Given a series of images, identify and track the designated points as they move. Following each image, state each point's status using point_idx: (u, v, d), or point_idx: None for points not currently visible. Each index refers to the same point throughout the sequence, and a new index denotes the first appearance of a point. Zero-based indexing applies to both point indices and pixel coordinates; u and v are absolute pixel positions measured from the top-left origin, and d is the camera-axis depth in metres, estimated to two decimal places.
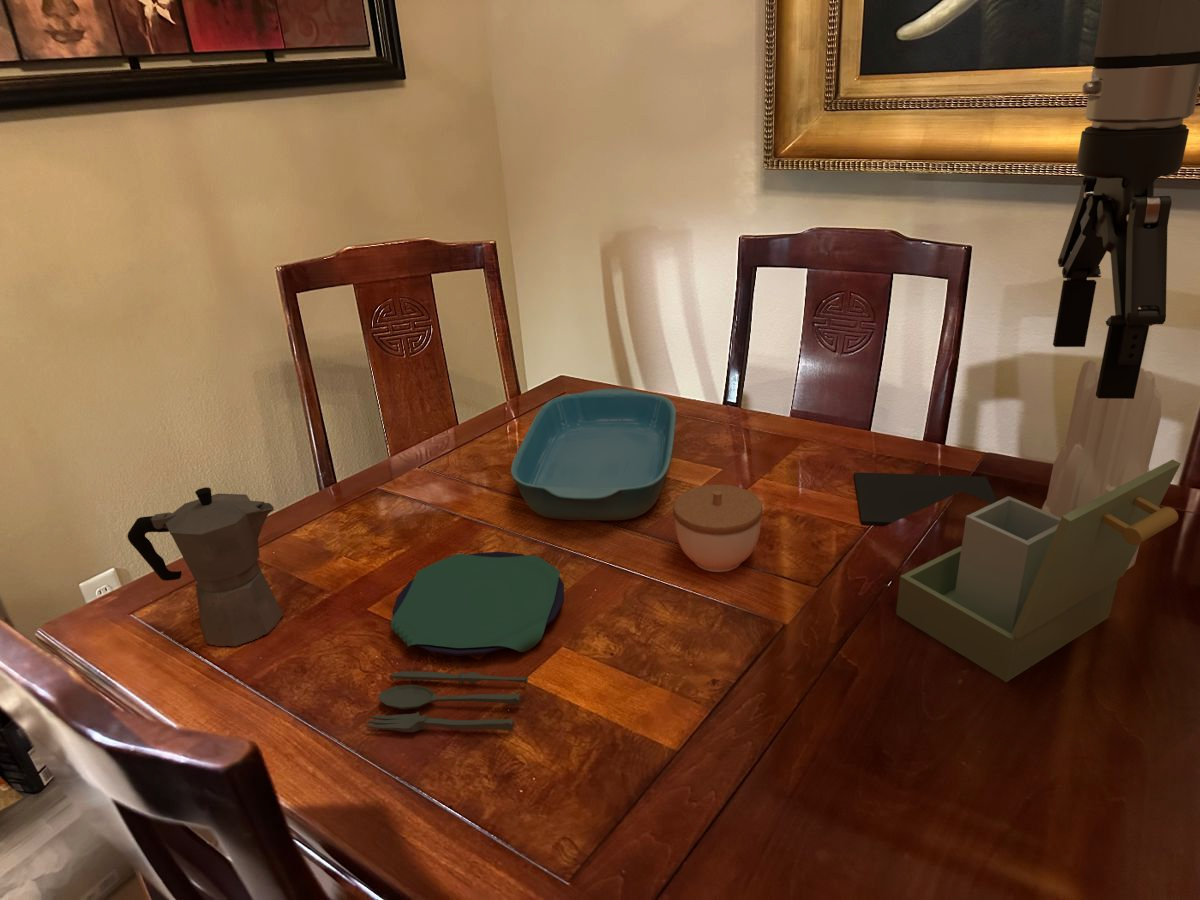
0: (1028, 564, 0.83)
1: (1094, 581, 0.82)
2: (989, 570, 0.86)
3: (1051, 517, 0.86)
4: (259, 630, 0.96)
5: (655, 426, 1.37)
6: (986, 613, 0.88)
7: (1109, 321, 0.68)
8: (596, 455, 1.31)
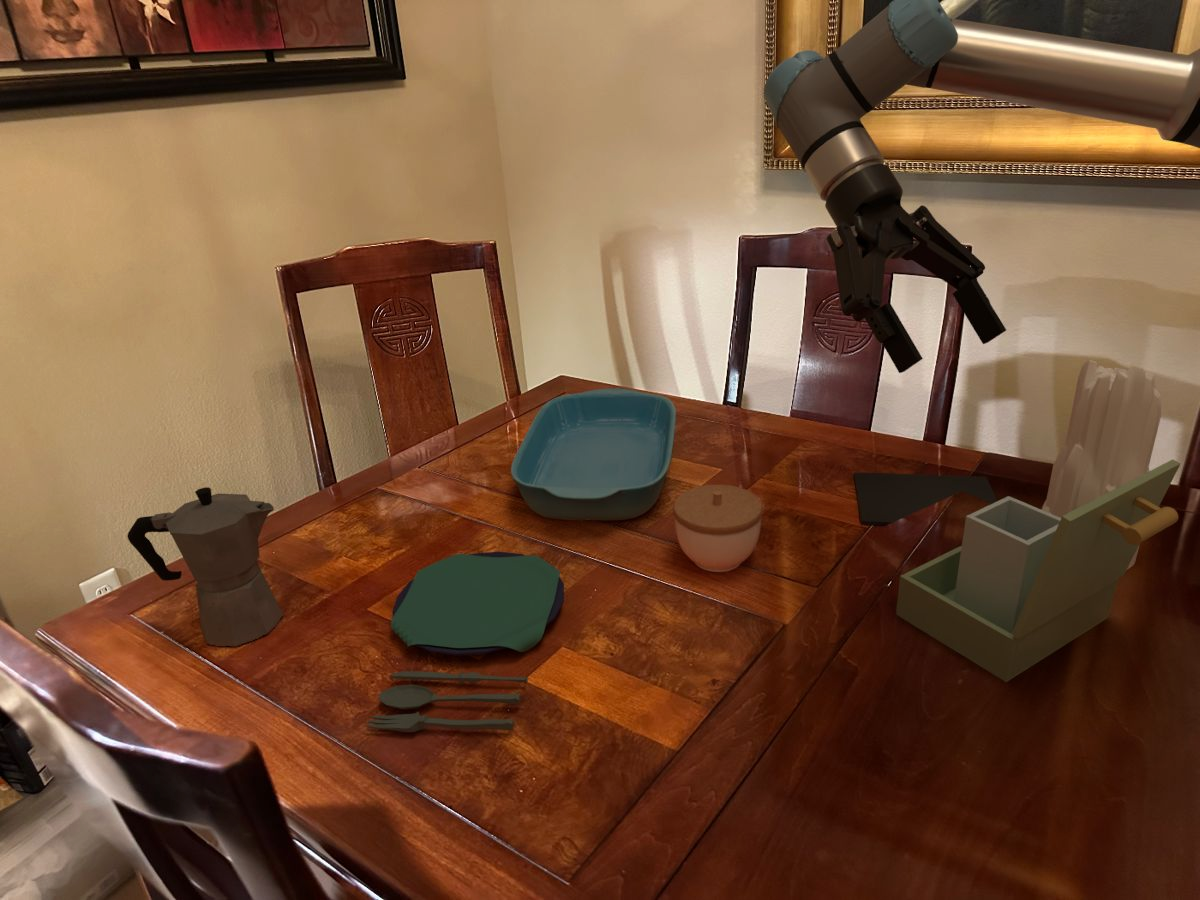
0: (1028, 564, 0.83)
1: (1094, 581, 0.82)
2: (989, 570, 0.86)
3: (1051, 517, 0.86)
4: (259, 630, 0.96)
5: (655, 426, 1.37)
6: (986, 613, 0.88)
7: None
8: (596, 455, 1.31)
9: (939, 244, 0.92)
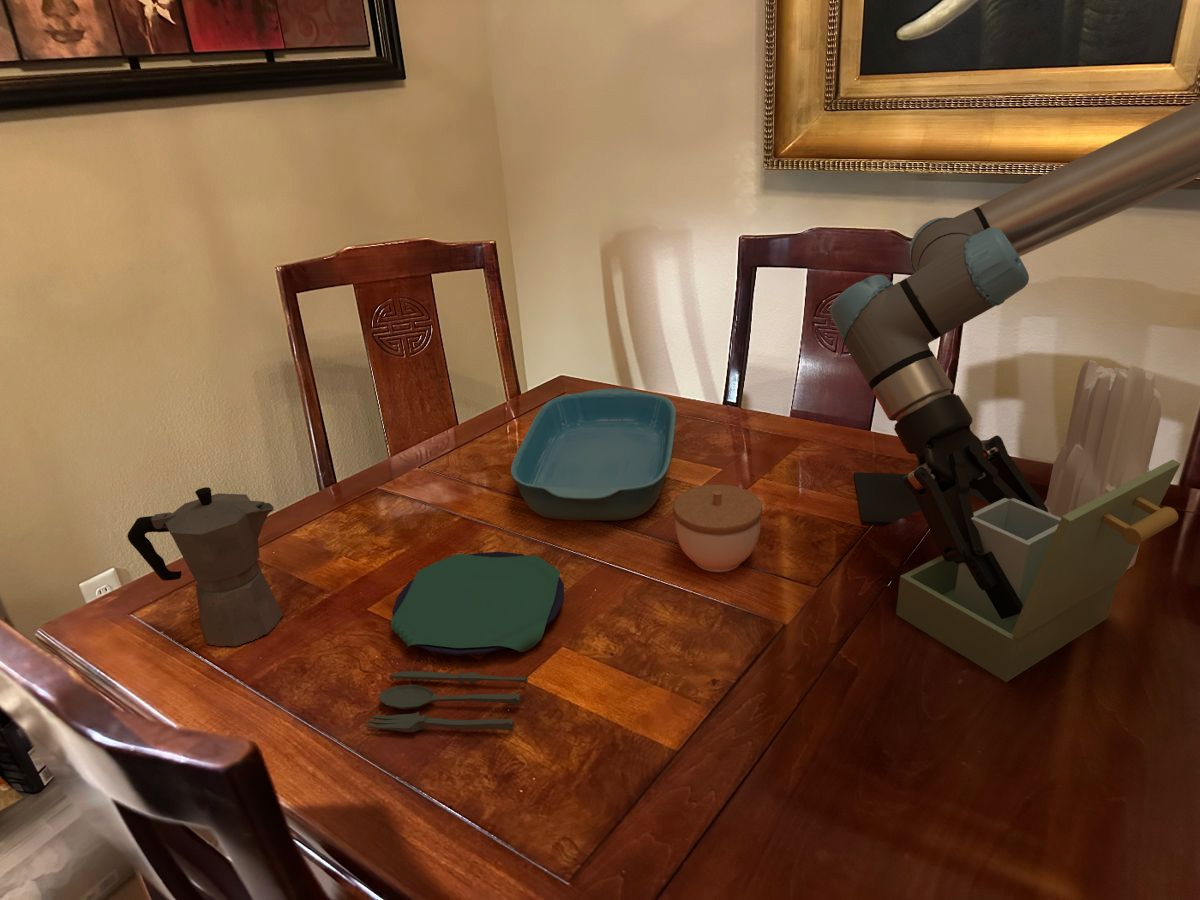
0: (1027, 564, 0.83)
1: (1094, 581, 0.82)
2: None
3: (1051, 517, 0.86)
4: (259, 630, 0.96)
5: (655, 426, 1.37)
6: (986, 613, 0.88)
7: (957, 561, 0.87)
8: (596, 455, 1.31)
9: (1006, 477, 0.92)
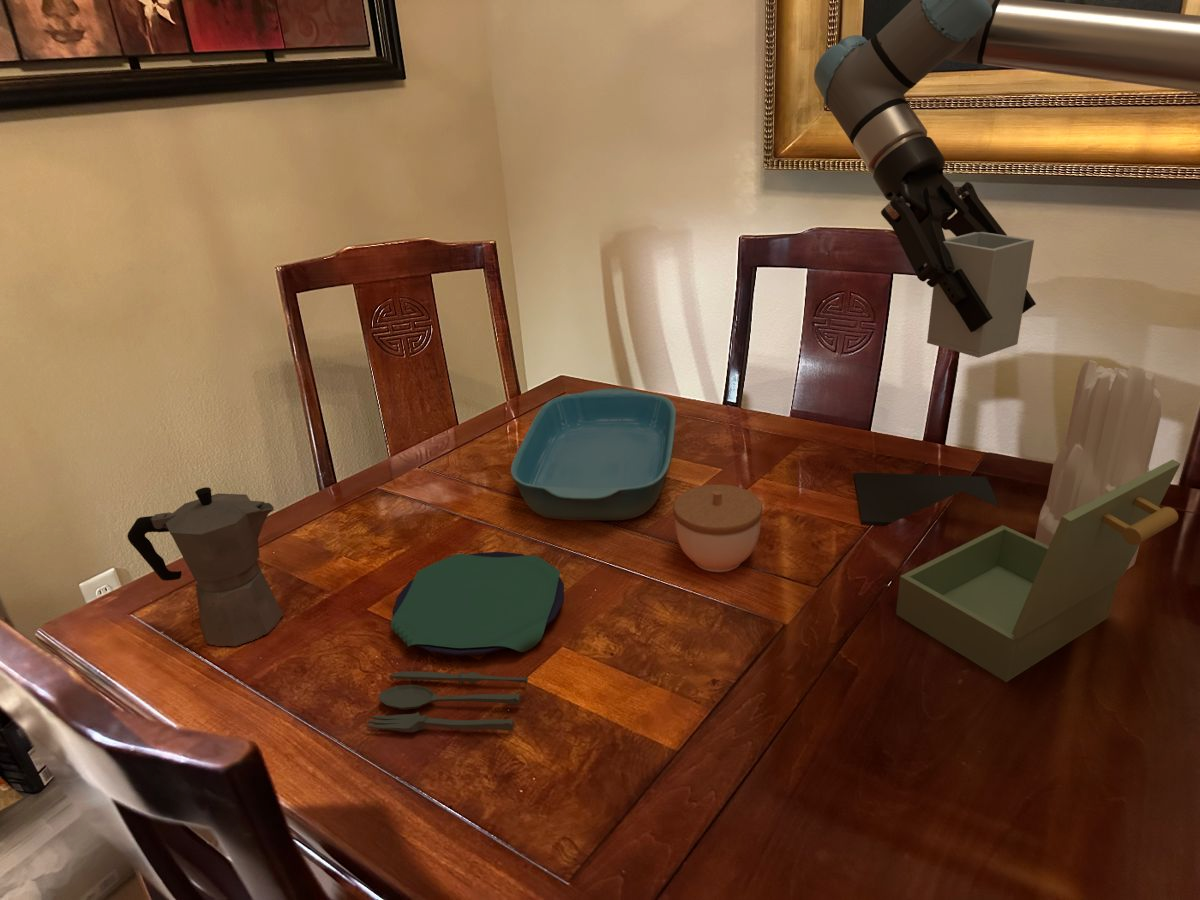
0: (994, 272, 0.90)
1: (1094, 581, 0.82)
2: None
3: (1016, 238, 0.93)
4: (259, 630, 0.96)
5: (655, 426, 1.37)
6: (957, 334, 0.95)
7: None
8: (596, 455, 1.31)
9: (976, 219, 0.99)
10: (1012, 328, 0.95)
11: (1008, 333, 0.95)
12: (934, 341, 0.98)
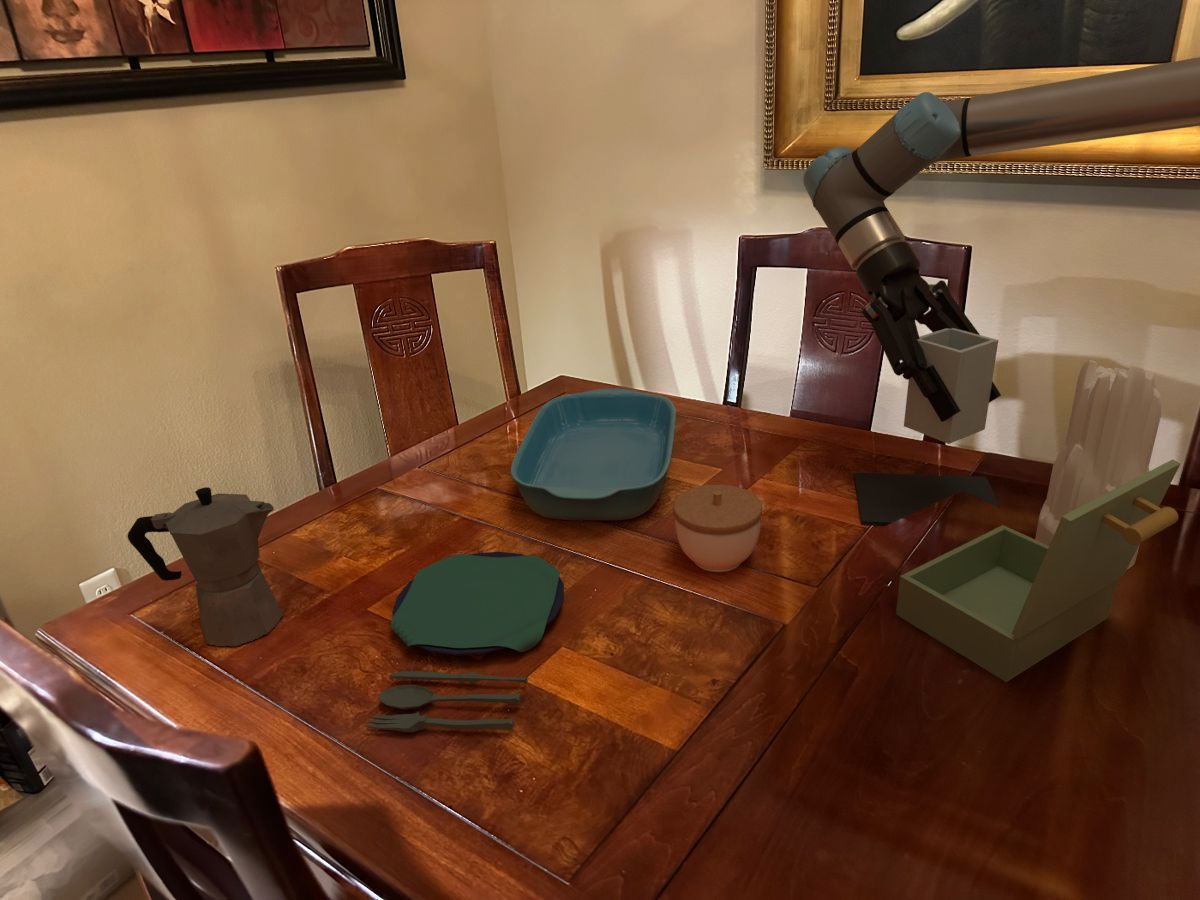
0: (961, 371, 1.01)
1: (1094, 581, 0.82)
2: None
3: (982, 337, 1.04)
4: (259, 630, 0.96)
5: (655, 426, 1.37)
6: (930, 421, 1.06)
7: None
8: (596, 455, 1.31)
9: (949, 314, 1.10)
10: (980, 416, 1.06)
11: (975, 420, 1.06)
12: (910, 425, 1.09)
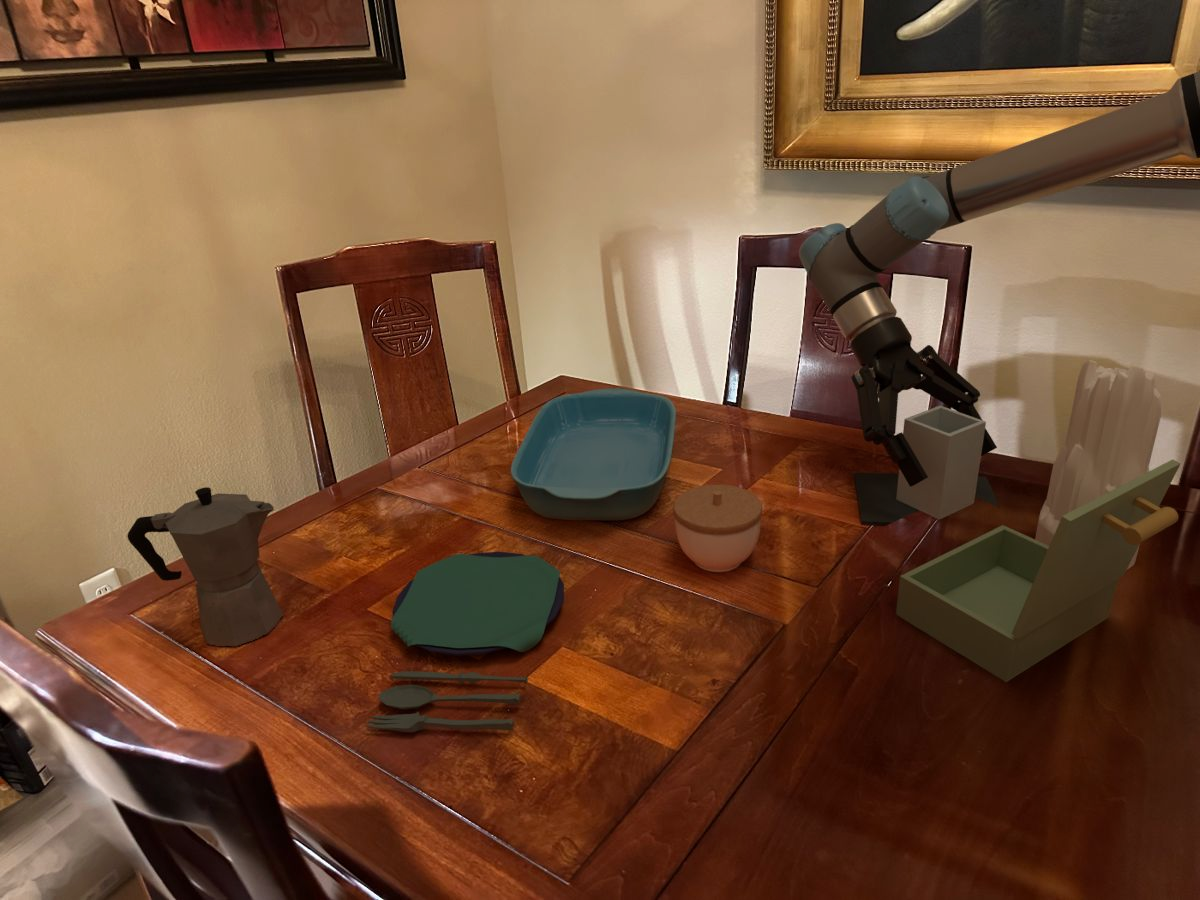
0: (950, 452, 1.05)
1: (1094, 581, 0.82)
2: (922, 460, 1.09)
3: (971, 418, 1.08)
4: (259, 630, 0.96)
5: (655, 426, 1.37)
6: (921, 497, 1.11)
7: None
8: (596, 455, 1.31)
9: (942, 376, 1.15)
10: (969, 492, 1.11)
11: (965, 496, 1.10)
12: (902, 499, 1.14)
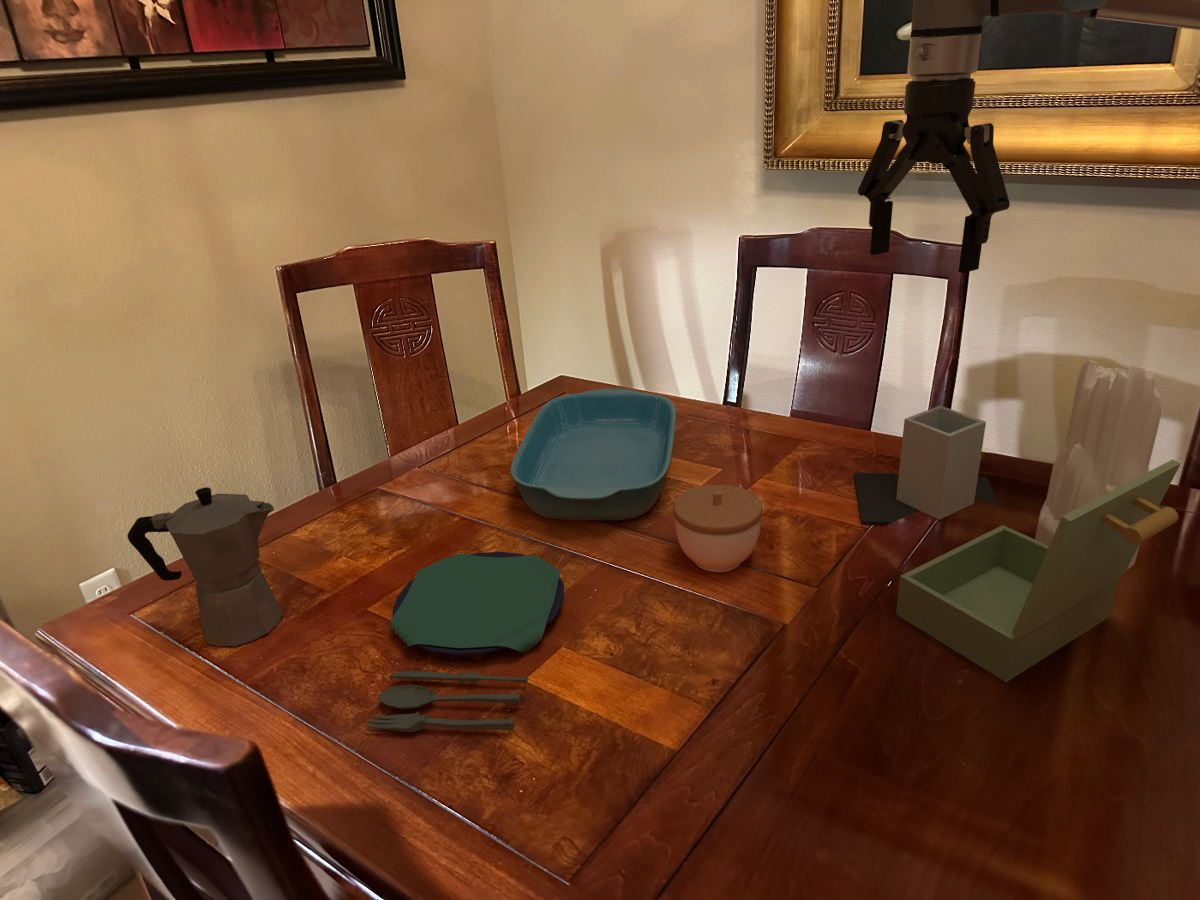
0: (950, 452, 1.05)
1: (1094, 581, 0.82)
2: (922, 460, 1.09)
3: (971, 418, 1.08)
4: (259, 630, 0.96)
5: (655, 426, 1.37)
6: (921, 497, 1.11)
7: (974, 214, 0.96)
8: (596, 455, 1.31)
9: (887, 158, 1.06)
10: (969, 492, 1.11)
11: (965, 496, 1.10)
12: (902, 499, 1.14)
